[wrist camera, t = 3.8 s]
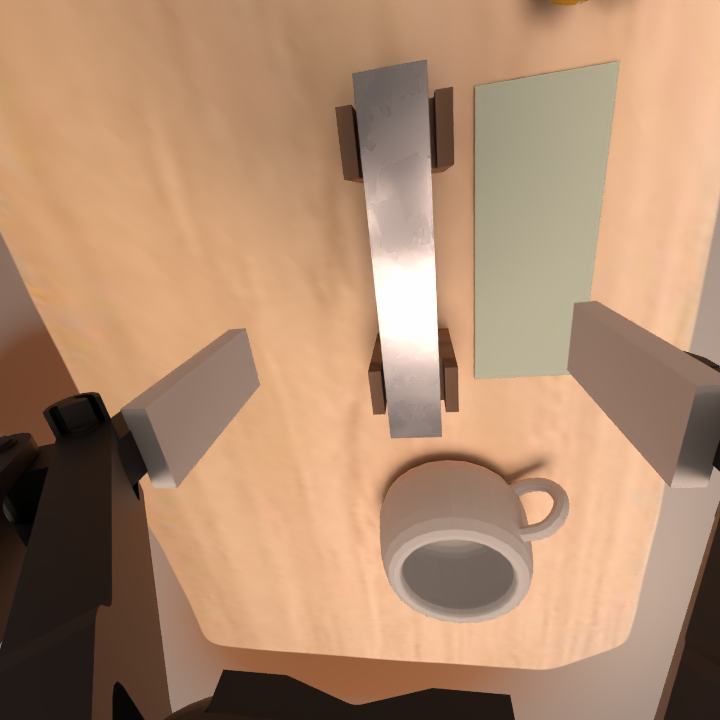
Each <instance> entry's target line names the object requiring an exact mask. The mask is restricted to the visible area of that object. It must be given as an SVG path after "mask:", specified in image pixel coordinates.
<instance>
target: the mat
mask: <svg viewBox="0 0 720 720" xmlns="http://www.w3.org/2000/svg"><path fill="white" fill-rule="evenodd" d="M619 66H620V61H616V62H611V63H605V64H599V65H593V66H588V67H582V68H576V69H570V70H565V71H559V72H553V73H548V74H542V75H536V76H530V77H525V78H519V79H513V80H508V81H502V82H496V83H490V84H485V85H479V86H475V87H474V378H475V379H491V378H513V377H534V376H555V375H571V374H570V373H569V371H568V370H567V365H568V355H569V346H570V337H571V327H572V318H573V308H574V303H578V302H590V296H591V288H592V280H593V272H594V265H595V257H596V249H597V241H598V233H599V225H600V217H601V209H602V201H603V193H604V185H605V177H606V169H607V161H608V153H609V145H610V137H611V129H612V121H613V113H614V105H615V98H616V90H617V82H618V74H619Z"/></svg>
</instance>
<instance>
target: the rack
mask: <svg viewBox="0 0 720 720" xmlns="http://www.w3.org/2000/svg"><path fill="white" fill-rule="evenodd" d="M428 106H429V131H430V155H431V173H437V172H444V171H445V170H446V169H448V168H449V167H451V166H452V165H453V164H454V136H453V87H449V88H444V89H438V90H435V93H434V97H433V98H430V99H428ZM335 109H336V117H337V125H338V134H339V142H340V150H341V158H342V166H343V174H344V180H349V181H354V182H359V183H364V179H363V170H362V160H361V151H360V141H359V132H358V122H357V113H356V111H355V109H354V108H353V106H352V105H347V106H341V107H336V108H335ZM438 352H439V377H440V400H444V401H445V408H446V412H459V402H458V366H457V362H456V358H455V354H454V350H453V346H452V342H451V338H450V334H449V331H448V329H438ZM368 375H369V383H370V391H371V399H372V407H373V415H376V414H385V412H386V404H387V397H386V387H385V378H384V368H383V359H382V349H381V340H380V333H379V334H378V335H377V339H376V343H375V347H374V351H373V355H372V359H371V363H370V367H369V370H368Z"/></svg>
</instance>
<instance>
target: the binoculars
mask: <svg viewBox="0 0 720 720" xmlns="http://www.w3.org/2000/svg"><path fill="white" fill-rule="evenodd" d="M550 1H551V2H553V3H555V4H559V5H575V4H579V3H582V2H585V1H587V0H550Z"/></svg>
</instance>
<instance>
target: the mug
mask: <svg viewBox="0 0 720 720" xmlns="http://www.w3.org/2000/svg"><path fill="white" fill-rule="evenodd" d="M533 491H543V492H547V493H549V494H550V495H551V497H552V498H553V500H554V505H553V508H552V510H551V512H550V513H549V515H548V516H547V517H546V518H545V519H544V520H543V521H541V522H539V523H536V524H532V525H528V521H527V517H526V513H525V510H524V507H523V505H522V503H521V501H520V499H519V496H520V495H522V494H525V493H528V492H533ZM568 512H569V501H568V496H567V494H566V492H565V491H564V489H563V488H562V487H561V486H560V485H559V484H557V483H555V482H554V481H551V480H549V479H546V478H528V479H523V480H520V481H518V482H515V483H512V484H509V485H508V484H507V483H506V482H505V480H504V479H503V478H501V477H500V476H499V475H498V474H496V473H494V472H492V471H491V470H489V469H487V468H485V467H483V466H480V465H476V464H473V463H469V462H466V461H454V460H442V461H435V462H428V463H425V464H422V465H419V466H417V467H414V468H411V469H410V470H408V471H407V472H405V473H404V474H402V475H401V476H400V477H398V478H397V479H396V481H395V482H394V483H393V484H392V485H391V487H390V488H389V489H388V492H387V495H386V497H385V500H384V502H383V505H382V508H381V510H380V544H381V554H382V560H383V565H384V569H385V572H386V575H387V577H388V580H389V583H390V585H391V586H392V588H393V590H394V591H395V593H396V594H397V595H398V597H399V598H400V599H401V600H402V601H403V602H404V603H405V604H407V605H408V606H409V607H411V608H412V609H413V610H415V611H417V612H419V613H421V614H423V615H425V616H428V617H431V618H434V619H438V620H441V621H446V622H455V623H477V622H482V621H487V620H492V619H495V618H497V617H500V616H502V615H504V614H506V613H508V612H510V611H511V610H512V609H514V608H515V607H516V606H518V605H519V604H520V603H521V601H522V600H523V599H524V597H525V596H526V594H527V592H528V589H529V586H530V582H531V578H532V574H533V553H532V546H531V541H535V540H541V539H544V538H547V537H549V536H551V535H553V534H554V533H556V532H557V531H558V529H559V528H560V527H561V526H562V525H563V524H564V522H565V520H566V518H567V516H568Z"/></svg>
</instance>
